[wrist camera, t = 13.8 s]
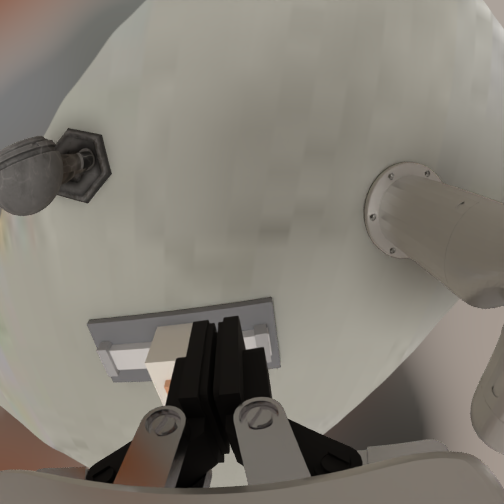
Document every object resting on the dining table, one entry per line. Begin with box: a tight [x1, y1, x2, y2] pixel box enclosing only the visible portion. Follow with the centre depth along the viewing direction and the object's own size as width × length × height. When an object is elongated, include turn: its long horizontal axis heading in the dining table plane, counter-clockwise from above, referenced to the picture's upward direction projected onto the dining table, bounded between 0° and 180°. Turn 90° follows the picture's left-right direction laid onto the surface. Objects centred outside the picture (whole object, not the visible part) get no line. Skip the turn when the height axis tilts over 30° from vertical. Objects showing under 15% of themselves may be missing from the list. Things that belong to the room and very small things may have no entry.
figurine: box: [0, 128, 112, 216], centre depth 27 cm, size 9×10×15 cm
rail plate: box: [87, 297, 281, 382], centre depth 42 cm, size 26×11×3 cm, turn 98°
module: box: [145, 323, 193, 406], centre depth 38 cm, size 5×8×9 cm, turn 8°
